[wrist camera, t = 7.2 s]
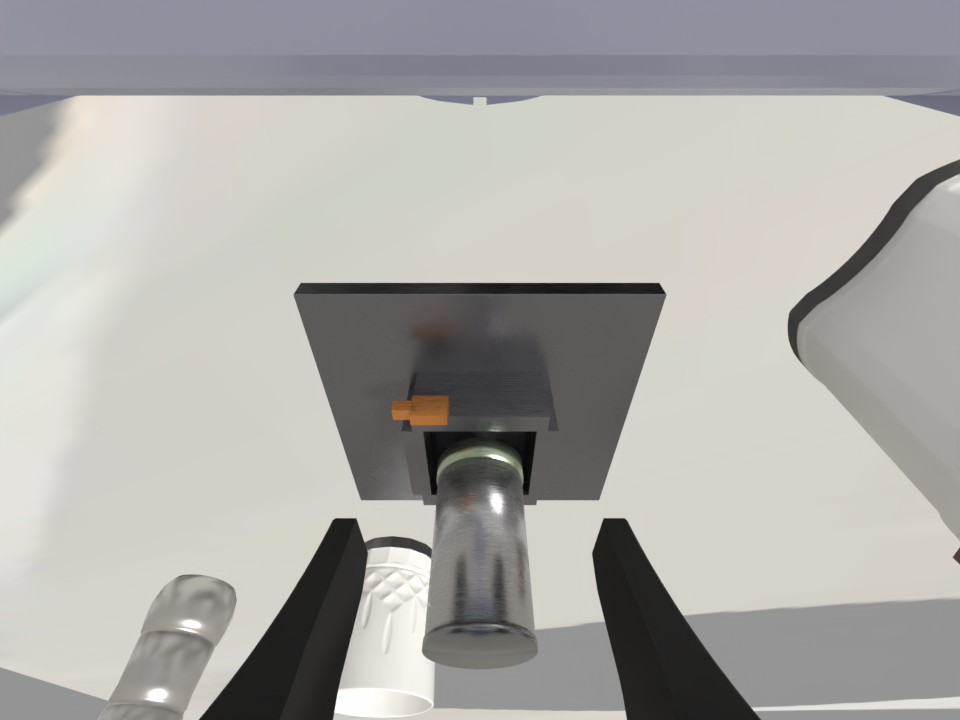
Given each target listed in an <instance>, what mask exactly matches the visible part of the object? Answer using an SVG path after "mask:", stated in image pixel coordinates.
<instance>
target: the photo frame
mask: <svg viewBox="0 0 960 720" xmlns="http://www.w3.org/2000/svg"><path fill="white" fill-rule="evenodd" d="M952 558H954V559H955V560H956V561H957V562H958V563H959V564H960V548H959V549H958V550H957V552H956V553H955V555H954V556H953V557H952Z"/></svg>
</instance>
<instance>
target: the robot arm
mask: <svg viewBox="0 0 960 720" xmlns="http://www.w3.org/2000/svg"><path fill="white" fill-rule="evenodd" d="M75 96H421V97H424V98H428V99H432V100H436V101H443V102H451V103H460V104H469V105H473V102H474V97H486V102H487V105H491V104H500V103H509V102H517V101H524V100H528V99H532V98H536V97H539V96H885V97H889V98H893V99H896V100H900V101H904V102H908V103H911V104H915V105H919V106H923V107H926V108H930V109H934V110H938V111H941V112H945V113H949V114H952V115H956V116H960V0H0V116H4V115H7V114H11V113H15V112H19V111H22V110H26V109H30V108H34V107H37V106H41V105H45V104H49V103H52V102H56V101H60V100H64V99H67V98H71V97H75ZM367 557H368V551H367V548H366V545H365V542H364V539H363V536H362V533H361V530H360V527H359V524H358V521H357V518H335V519H334V520H332V522H331V524H330V526H329V528H328V530H327V532H326V534H325V536H324V538H323V540H322V542H321V543H320V545H319V547H318V549H317V551H316V552H315V554H314V556H313V558H312V559H311V561H310V563H309V565H308V566H307V568H306V570H305V572H304V573H303V575H302V576H301V578H300V580H299V581H298V583H297V585H296V586H295V588H294V589H293V591H292V593H291V594H290V596H289V598H288V599H287V601H286V602H285V604H284V605H283V607H282V608H281V610H280V611H279V613H278V614H277V616H276V617H275V619H274V620H273V622H272V623H271V625H270V626H269V628H268V629H267V631H266V632H265V634H264V635H263V637H262V638H261V639H260V641H259V642H258V644H257V645H256V646H255V648H254V649H253V651H252V652H251V653H250V655H249V656H248V658H247V659H246V660H245V662H244V663H243V664H242V666H241V667H240V668H239V670H238V671H237V672H236V674H235V675H234V676H233V678H232V679H231V680H230V681H229V683H228V684H227V685H226V686H225V688H224V689H223V690H222V691H221V693H220V694H219V695H218V696H217V698H216V699H215V700H214V701H213V703H212V704H211V705H210V706H209V708H208V709H207V710H206V711H205V713H204V714H203V715H202V716H201V717H200V719H199V720H333V717H334V711H335V705H336V699H337V694H338V689H339V685H340V680H341V675H342V671H343V668H344V664H345V660H346V656H347V652H348V648H349V644H350V640H351V636H352V632H353V628H354V624H355V620H356V616H357V612H358V608H359V604H360V600H361V595H362V591H363V585H364V579H365V572H366V565H367ZM592 557H593V565H594V572H595V579H596V585H597V591H598V595H599V600H600V604H601V608H602V612H603V616H604V620H605V624H606V628H607V632H608V636H609V640H610V644H611V648H612V652H613V656H614V660H615V664H616V668H617V671H618V675H619V680H620V685H621V689H622V694H623V699H624V705H625V711H626V717H627V720H761V719H760V718H759V716H758V715H757V714H756V713H755V712H754V711H753V709H752V708H751V707H750V706H749V704H748V703H747V702H746V701H745V699H744V698H743V697H742V696H741V694H740V693H739V692H738V691H737V689H736V688H735V687H734V685H733V684H732V683H731V682H730V680H729V679H728V678H727V676H726V675H725V674H724V672H723V671H722V670H721V669H720V667H719V666H718V665H717V663H716V662H715V661H714V659H713V658H712V656H711V655H710V654H709V652H708V651H707V650H706V648H705V647H704V645H703V644H702V643H701V641H700V640H699V638H698V637H697V635H696V634H695V632H694V631H693V630H692V628H691V627H690V625H689V624H688V622H687V621H686V619H685V618H684V616H683V615H682V613H681V612H680V610H679V609H678V607H677V606H676V604H675V602H674V601H673V599H672V598H671V596H670V594H669V593H668V591H667V590H666V588H665V587H664V585H663V583H662V582H661V580H660V578H659V577H658V575H657V573H656V572H655V570H654V568H653V567H652V565H651V563H650V561H649V560H648V558H647V556H646V554H645V553H644V551H643V549H642V547H641V545H640V544H639V542H638V540H637V538H636V536H635V534H634V532H633V531H632V529H631V527H630V525H629V523H628V521H627V520H626V519H625V518H603V521H602V524H601V527H600V530H599V533H598V536H597V539H596V542H595V545H594V548H593V551H592Z"/></svg>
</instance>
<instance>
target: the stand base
mask: <svg viewBox="0 0 960 720" xmlns="http://www.w3.org/2000/svg"><path fill="white" fill-rule="evenodd" d="M293 295H294V298H295V301H296V304H297V307H298V311H299V314H300V317H301V320H302V323H303V326H304V329H305V332H306V335H307V338H308V341H309V344H310V347H311V350H312V353H313V356H314V359H315V362H316V365H317V368H318V371H319V374H320V377H321V380H322V384H323V387H324V390H325V393H326V396H327V399H328V402H329V405H330V408H331V411H332V414H333V417H334V420H335V423H336V426H337V429H338V432H339V435H340V438H341V441H342V444H343V447H344V450H345V453H346V457H347V460H348V463H349V466H350V469H351V472H352V475H353V478H354V481H355V484H356V487H357V490H358V493H359V496H360V499H361V500H423V504H424V505H436V499H437V488H438V486H437V469H438V460H439V457H440V455H441V453H442V452H443V451H444V450H445V449H446V448H447V447H449V446H450V445H452V444H453V443H455V442H458V441H460V440H463V439H468V438H475V437H485V438H492V439H497V440H500V441H502V442H505V443H507V444H508V445H510V446H511V447H513V448H514V449H515V450H516V451H517V452H518V453H519V455H520V457H521V460H522V469H523V486H522V488H523V499H524V505H536V504H537V500H599V499H600V496H601V493H602V490H603V487H604V484H605V481H606V478H607V475H608V472H609V469H610V466H611V463H612V460H613V457H614V453H615V450H616V447H617V444H618V441H619V438H620V435H621V432H622V429H623V426H624V423H625V420H626V417H627V414H628V411H629V408H630V405H631V402H632V399H633V396H634V393H635V390H636V387H637V384H638V380H639V377H640V374H641V371H642V368H643V365H644V362H645V359H646V356H647V353H648V350H649V347H650V344H651V341H652V338H653V335H654V332H655V329H656V326H657V323H658V320H659V317H660V314H661V310H662V307H663V304H664V301H665V298H666V295H667V294H666V293H665V291H664V290H663V288H662V286H661V285H660V283H300V285H299V286H298V288H297V290H296V291H295V293H294V294H293Z"/></svg>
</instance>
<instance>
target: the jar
mask: <svg viewBox="0 0 960 720" xmlns="http://www.w3.org/2000/svg"><path fill="white" fill-rule="evenodd" d="M788 339H789V343H790V346H791V348H792V351H793V352H794V354H795V356H796V357H797V358H798V360H799V361H800V362H801V363H802V364H803V365H804V367H805V368H806V369H807V370H808V371H809V372H810V373H811V374H812V375H813V376H814V377H815V378H816V379H817V380H818V381H819V382H821V383H822V384H824V385H825V386H826V388H827V389H828V390H829V391H830V392H831V393H832V394H833V395H834V396H835V398H836V399H837V400H838V401H839V402H840V403H841V404H842V405H843V406H844V408H845V409H846V410H847V411H848V412H849V413H850V414H851V415H852V416H853V418H854V419H855V420H856V421H857V422H858V423H859V424H860V425H861V426H862V428H863V429H864V430H865V431H866V432H867V433H868V434H869V435H870V436H871V438H872V439H873V440H874V441H875V442H876V443H877V444H878V445H879V446H880V448H881V449H882V450H883V451H884V452H885V453H886V454H887V455H888V456H889V458H890V459H891V460H892V461H893V462H894V463H895V464H896V465H897V466H898V468H899V469H900V470H901V471H902V472H903V473H904V474H905V475H906V476H907V478H908V479H909V480H910V481H911V482H912V483H913V484H914V485H915V487H916V488H917V489H918V490H919V491H920V492H921V493H922V494H923V495H924V497H925V498H926V499H927V500H928V501H929V502H930V503H931V504H932V505H933V507H934V508H935V509H936V510H937V511H938V512H939V514H940V517H941V519H942V520H943V522H944V523H945V525H946V526H947V527H948V528H949V529H950V531H951V532H952V533H953V534H954V535H955V536H956V537H957V538H958V540H959V541H960V159H959V160H957V161H954V162H951V163H949V164H947V165H944V166H942V167H940V168H937V169H935V170H933V171H931V172H929V173H927V174H925V175H923V176H921V177H919V178H917V179H916V180H915V181H914V182H913V183H912V184H911V185H910V186H909V187H908V188H907V189H906V190H905V191H904V192H903V193H902V195H901V196H900V197H899V198H898V199H897V200H896V201H895V202H894V203H893V204H892V206H891V207H890V209H889V211H888V212H887V214H886V215H885V217H884V218H883V220H882V221H881V223H880V224H879V225H878V227H877V228H876V229H875V230H874V232H873V233H872V234H871V235H870V237H869V238H868V239H867V240H866V241H865V243H864V244H863V245H862V246H861V247H860V248H859V249H858V250H857V251H856V252H855V253H854V255H853V256H852V257H851V258H850V259H849V260H848V261H847V262H845V263H844V264H843V265H842V266H841V267H840V268H839V269H838V270H837V271H836V272H834V273H833V274H832V275H831V276H830V277H829V278H827V279H826V280H825V281H824V282H822V283H821V284H820V285H818V286H817V287H816V288H814V289H813V290H811V291H810V292H808V293H807V294H806V295H805V296H804V297H803V298H802V299H801V300H800V301H799V302H798V303H797V304H796V305H795V306H794V307H793V308H792V310H791V311H790V312H789V317H788Z"/></svg>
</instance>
